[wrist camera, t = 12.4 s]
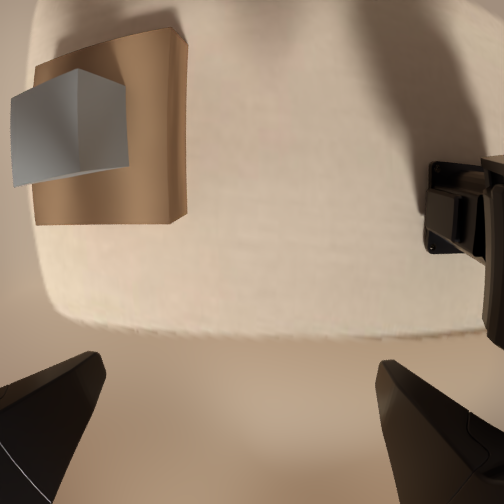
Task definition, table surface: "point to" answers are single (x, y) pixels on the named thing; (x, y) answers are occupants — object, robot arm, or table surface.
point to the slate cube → (68, 128)
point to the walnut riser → (129, 136)
